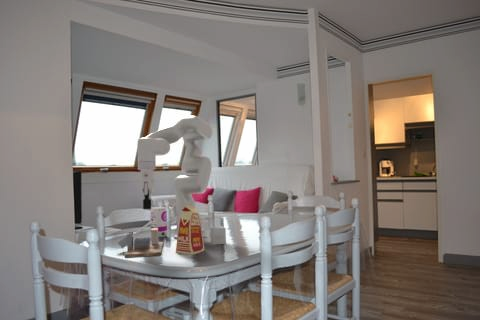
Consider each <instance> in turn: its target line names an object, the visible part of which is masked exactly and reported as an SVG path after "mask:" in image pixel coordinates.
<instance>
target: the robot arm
mask: <svg viewBox="0 0 480 320" xmlns="http://www.w3.org/2000/svg"><path fill="white" fill-rule="evenodd" d="M212 136H213V127H212V126H211V125H210V124H209V123H208V122H207V121H206V120H204V118H201V117H199V116H197V115H188V116H181V117H180V116H179V117H177V118H176V119H175V120H174V121H172V123H170V124H169V125H168V126H166V127H164V128H161V129H159V130H156V131H154V132H152V133H150V134H148V135H146V136H145V137H140V138H138V140H137V170H138V171H140V191H141V193H142V195H143V200H142V206H143V207H142V208H143V210H151V209H152V199H151V198H152V194H151V193H153V192H155V176H154V174H155V173H154V171H155V170H156V164H157V163H156V161H157V159H156V156H165V155H167V154H168V153H169V152H170V151H171V145H172V144H174V143H177V142H178V141H179V140H180V139H181V138H182V140H183V143H184V145H185V153H184V157H183V159H182V163H181V170H180V171H181V172H182V173H183V174H181V175H178V176H176V177H175V178H174V180H173V189H174V194H175V209H176V211H175V213H176V218H175V219H176V234H174V235H173V238H174V239H176V240H177V237H178V230H179V223H180V218H181V212H182V210H183V209H184V208H185V204H187V205H189V206H195V207H196V201H195V199H194V197H193V196H192V194H194V195H195V194H201V195H202V194H203V193H205V192H206V191H207V189H208V187H209V182H210V178H211V174H212V167H213V166H212V161H211V159H210V158H209V157H207V156H202V148H201V146H200V145H199V144H198V143H197V141H207V140H209V139H211V138H212ZM205 230H206V229H205V228H202V233H203V234H205V232H206V231H205Z"/></svg>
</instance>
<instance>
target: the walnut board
mask: <svg viewBox="0 0 480 320" xmlns="http://www.w3.org/2000/svg"><path fill="white" fill-rule="evenodd" d="M163 247H164V241H158V244H152V242H150V247H149V249H142V250H134V243H133V248H132V250H128V249H127V250H126V252H125V254H124V258H137V257H138V258H139V257H152V256H162V253H163Z"/></svg>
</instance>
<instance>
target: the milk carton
mask: <svg viewBox="0 0 480 320" xmlns="http://www.w3.org/2000/svg"><path fill="white" fill-rule="evenodd" d="M202 229H203V227H202V221H201V217H200V212H199V211H198V210H197V208H196V205H195V206H189V205H187V204H185V208H184V209H183V210H182V212H181V218H180V223H179V230H178V237H177V239H176V245H175V253H177V254H184V255H191V256H193V255H197V254H199V253H201V252H204V251H205V241H204V235H203V234H204V233H202Z"/></svg>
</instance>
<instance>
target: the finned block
mask: <svg viewBox="0 0 480 320" xmlns="http://www.w3.org/2000/svg"><path fill="white" fill-rule="evenodd" d="M150 243H151V237H149V236H148V237H136V238H135V239H133V244H134V250H142V249H149V247H150Z"/></svg>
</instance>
